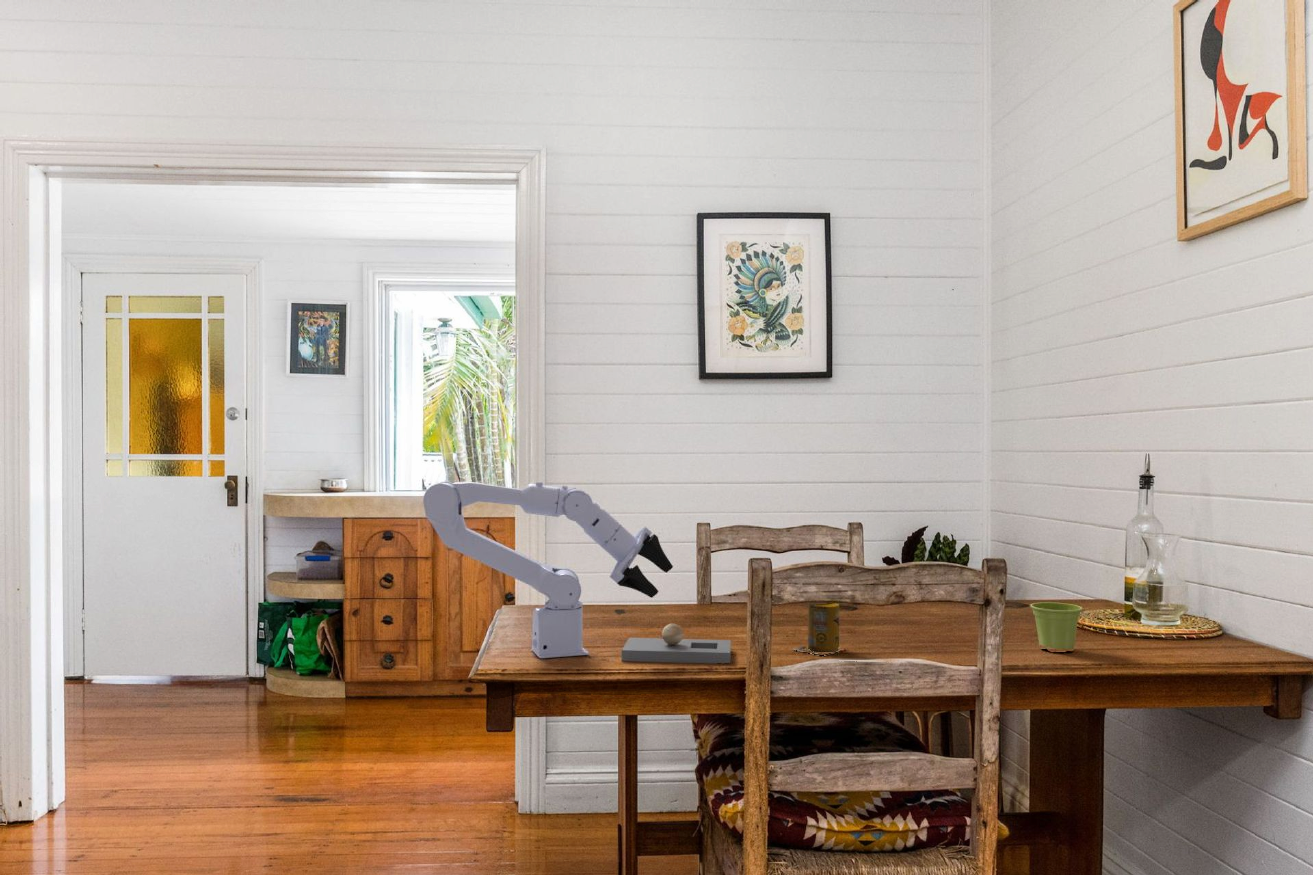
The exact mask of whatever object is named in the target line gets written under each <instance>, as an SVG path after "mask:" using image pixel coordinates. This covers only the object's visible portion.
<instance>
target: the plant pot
mask: <svg viewBox="0 0 1313 875" xmlns="http://www.w3.org/2000/svg"><path fill="white" fill-rule="evenodd" d="M1029 605H1030V608H1031V609H1032V612H1033V616H1034V619H1035V625H1036V626H1035V627H1036V632H1037V638H1038V645H1042V646H1044V647H1050V648H1054V649H1073V648H1074V649H1075V642H1076V636H1077V629H1078V628H1077V627H1078V621H1079V618H1080V615H1081V612H1082V611H1083V607H1082V606H1080V605H1077V604H1071V603H1063V602H1051V601H1050V602H1046V601H1045V602H1034V603H1030V604H1029Z"/></svg>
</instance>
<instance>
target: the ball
mask: <svg viewBox="0 0 1313 875" xmlns="http://www.w3.org/2000/svg"><path fill="white" fill-rule="evenodd" d="M683 636H684V632H683V629H682V627H681V626H680V625H678V624H676V623H669V624H666V625H665V626H664V628H663V629H662V631H661V638H663V640H664V641H665V642H666V643H667V644H669V645H676V644H678V643H679V642H680V641H681V640H682V639H684V638H683Z"/></svg>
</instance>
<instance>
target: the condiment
mask: <svg viewBox="0 0 1313 875" xmlns="http://www.w3.org/2000/svg"><path fill="white" fill-rule="evenodd" d="M807 604H808V603H807ZM806 647H808V649H810V650H811V651H812V652H813V651H814V652H836V651H838V650H839V648H840V604H839V603H838V604H837V603H827V604H808V605H807V646H801V647H795V648H792V650H794V651H796V650H797V652H801V653H803V652H807V650H806V651H805V650H803V651H802V649H805V648H806ZM798 649H799V650H798ZM811 651H808V652H811ZM815 654H818V653H815ZM822 654H823V653H822ZM827 654H828V653H827ZM809 655H813V654H812V653H810V654H809ZM828 655H829V654H828ZM830 655H833V653H831V654H830ZM824 656H826V655H824ZM824 656H823V657H824Z"/></svg>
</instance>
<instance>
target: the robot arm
mask: <svg viewBox="0 0 1313 875" xmlns="http://www.w3.org/2000/svg"><path fill="white" fill-rule="evenodd" d="M568 488H569V487H568V485H562V486H561V487H559V486H552V485H551V486H550V485H544V482H543V481H536V482H535V483H529V484H527V485H526V486H525V487H524V488H522V489H519V488H515V487H514V488H513V487H508V486H501V485H496V484H489V483H481V482H477V481H475V482H474V481H455V482H450V481H441V482H438V483H435V484H433V485H431V486H429V487H428V488H427V489H426V491H425V493H424V495H423V499H422V500H423V501H422V502H423V503H422V504H423V508H424V514H425V517H426V519H427V520H428V521H429V523H431V524H430V525H432V527H433V529H434V530H435V532H436V533H437V536H439V538H440V540H441V542H442V544H443V545H445V546H446V547H448V548H450V549H452V550H454V551H455V552H458V553H460V554H462V555H464V556H467V557H468V558H471V559H473V560H475V561H477V562H479V563H482V564H484V565H486V566H488V567H489V568H493V569H494V570H496V571H499V572H501V573H503V574H505V575H507V576H509V577H511V578H513V579H515V580H518V581H520V582H522V583H524V584H526V585H528V586H530V587H531V588H533V589H535V591H537V592H538V593H540V594H542V595H544V596H545V597H547V598H548V600H547V601H545V602H544V606H542V607H535V608H534V609H533V612H532V618H531V619H532V622H531V623H532V624H531V625H532V626H531V627H532V628H531V631H532V634H531V636H532V637H531V651H532V652H533V653H534V654H535V655H536V657H538V658H539V659H547V658H548V659H549V658H550V659H551V658H560V657H561V658H562V657H563V658H564V657H575V656H587V655H589V651H588V650H586V649H585V648H584V646H583V602H581V601H579V599H580V598H581V596H582V595H581V594H582V586H581V583H580V580H579V576H578V575H577V574H576V573H575V572H574V571H573V570H571V569H570V568H566V567H565V568H564V567H563V568H561V567H560V568H559V567H555V566H551V565H549V564H547V563H543V562H540V561H538V560H535V559H533V558H532V557H530V556H527V555H526V554H523V553H521V552H518V551H517V550H514V549H512V548H510V547H508V546H506V545H504V544H502V543H500V542H498V541H496V540H493V539H491V538H489V537H487V536H485V535H483V534H481V533H479V532H477V531H475V530H473V529H470V528H468V527H467V525H466V521H465V518H464V515H463V510H462V508H464V507H467V506H471V505H472V504H475V503H477V502H481V503H492V504H501V505H510V506H511V505H512V506H519V507H521V509H522V510H523V512H524V513H526V514H529V515H530V514H531V515H539V516H545V517H552V518H553V517H554V518H559V517H561V516H565V517H566V519H568V520H569V521H572V522H575V523H576V524H577V525H579V527H580V528H582V529H583V531H584V533H585V534H586V535H588V536H589V538H590V539H592V540H593V541H594V542H595V543H597V545H599V546H600V547H601V548H602V549H603V550H604V551H605V552H606V553H607V554H608V555H610V556H611V557H612V558H613V559H614V560H615V561H616V564H615V566H614V568H613V570H612V572H611V574H610V575H609V578H610V579H612V580H613V581H614V582H615V583H616V584H617V585H618V586H619V587H625V588H629V589H632V590H635V591H637V592H640V593H641V594H644V595H645V596H647V597H649V598H653V597H655V596H656V595H657V594H659V591H660V590H658V589H657V587H656V586H655V585H654V584H653V583H652V582H651V581H650V580H649V579H647V577H646V576H645V575H644V573H643V572H642V570H641V568H640V567H639V565H637V564H636V565H634V567H630V566H631V564H632V563H633V561H634V560H635V559H636V557H637V556H638V555H639V556H641V557H643V558H644V559H647V560H648V561H650V562H651V563H653V564H654V565H655V566H656V567H657V568H658V569H660V570H661V571H662V572H664V573H666V574H667V573H668V572H669V571H671V570H672V569H673V568H674V565H673V564H672V563H671V562H670V560H669V558H668V557H667V555H666V554H665V551H664V549H663V548H662V545H661V544H660V541H659V536H657V535H656V534H655V533H653V534H652V531H651V530H649V528H647V526H644V527H643V528H641V529H640V530H639V532H638V533H637V534H636V535H635V536H634V535H633V534H632V533H630V532H629V530H628V529H626V528H625V527H624V526H623V525H622V524H621V523H620V522H619V521H618V520H616V519H615V518H614V517H613V516H612V515H611V514H610V513H608V511H606V510H605V509H603V508H601V506H600V505H599V504H598V503H597V502H594V501H593V500H592V498H591V497H592V496H590V495H589V493H587V492H585V491H584V490H582V489H577V488H576V487H573V488H569V489H568Z"/></svg>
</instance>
